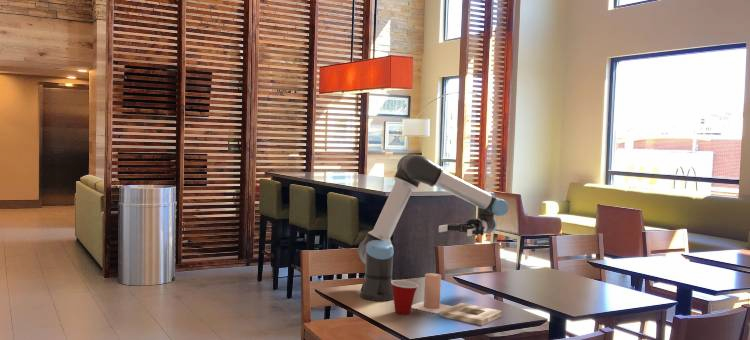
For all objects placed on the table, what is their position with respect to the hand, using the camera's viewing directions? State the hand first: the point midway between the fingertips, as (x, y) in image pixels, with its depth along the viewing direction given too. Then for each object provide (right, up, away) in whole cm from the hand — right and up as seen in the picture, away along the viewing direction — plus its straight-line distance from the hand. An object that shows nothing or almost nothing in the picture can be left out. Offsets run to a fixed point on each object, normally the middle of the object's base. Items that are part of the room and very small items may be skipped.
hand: (453, 231), depth 273 cm
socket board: (+4, -31, -22) cm, 38 cm away
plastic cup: (-22, -30, -22) cm, 43 cm away
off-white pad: (-10, -30, -12) cm, 34 cm away
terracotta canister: (-10, -30, -12) cm, 33 cm away
